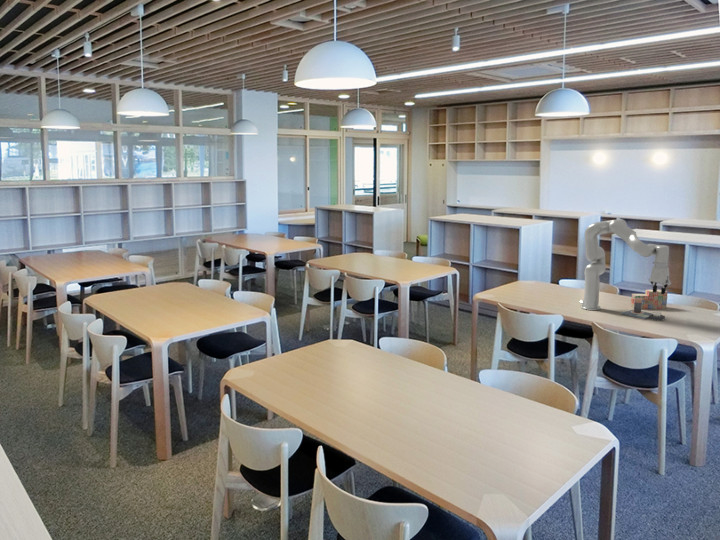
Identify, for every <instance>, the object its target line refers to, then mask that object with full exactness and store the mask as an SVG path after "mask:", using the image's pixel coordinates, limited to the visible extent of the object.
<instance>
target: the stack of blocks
mask: <svg viewBox="0 0 720 540" xmlns="http://www.w3.org/2000/svg"><path fill="white" fill-rule="evenodd" d="M635 298H641V299H642V306H641V310H644V309H647V310H649V309H650V310H651V309H655V310H659V309H661V310H666V309H667V305H668V304H667V303H668V291H667V290H666V291H665V294H661V289H657V292H653V289H645V293H631V300H630V306H631V308H633V309H634V299H635Z"/></svg>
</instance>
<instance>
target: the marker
mask: <svg viewBox="0 0 720 540" xmlns="http://www.w3.org/2000/svg"><path fill="white" fill-rule="evenodd" d="M641 306H642V299H641V298H635V299H634V308H633V310H634V312H635V313H641V311H642V309H641Z"/></svg>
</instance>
